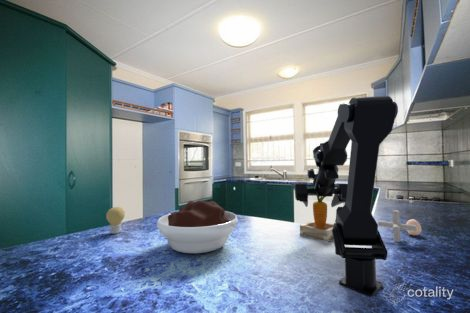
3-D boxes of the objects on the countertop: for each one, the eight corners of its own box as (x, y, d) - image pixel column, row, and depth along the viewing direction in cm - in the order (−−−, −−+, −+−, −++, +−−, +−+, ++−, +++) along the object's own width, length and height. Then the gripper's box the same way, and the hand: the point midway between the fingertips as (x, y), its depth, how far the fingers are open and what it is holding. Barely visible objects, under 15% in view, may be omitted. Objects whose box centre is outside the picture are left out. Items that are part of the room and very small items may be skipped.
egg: (403, 234, 80) (402, 218, 80) (410, 232, 82) (409, 217, 82) (417, 237, 76) (416, 221, 76) (424, 236, 78) (423, 219, 78)
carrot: (321, 230, 83) (321, 190, 84) (330, 234, 78) (330, 192, 79) (310, 231, 82) (309, 191, 82) (318, 235, 77) (318, 192, 77)
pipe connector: (417, 248, 66) (415, 215, 66) (378, 242, 72) (376, 211, 72) (415, 239, 74) (414, 210, 74) (380, 234, 80) (379, 207, 80)
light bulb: (119, 235, 82) (119, 208, 83) (102, 235, 82) (102, 208, 83) (127, 230, 89) (127, 205, 89) (112, 230, 89) (112, 205, 89)
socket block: (327, 241, 73) (326, 231, 73) (300, 234, 81) (299, 225, 81) (341, 235, 79) (341, 225, 79) (315, 229, 87) (315, 220, 88)
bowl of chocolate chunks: (138, 255, 63) (138, 203, 64) (190, 231, 86) (190, 193, 87) (211, 272, 53) (211, 209, 53) (249, 240, 75) (249, 196, 76)
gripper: (349, 160, 76) (339, 189, 86) (294, 161, 79) (291, 189, 89) (359, 185, 68) (347, 213, 78) (297, 185, 70) (294, 212, 81)
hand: (318, 205), depth 82 cm, fingers open, 9 cm apart
